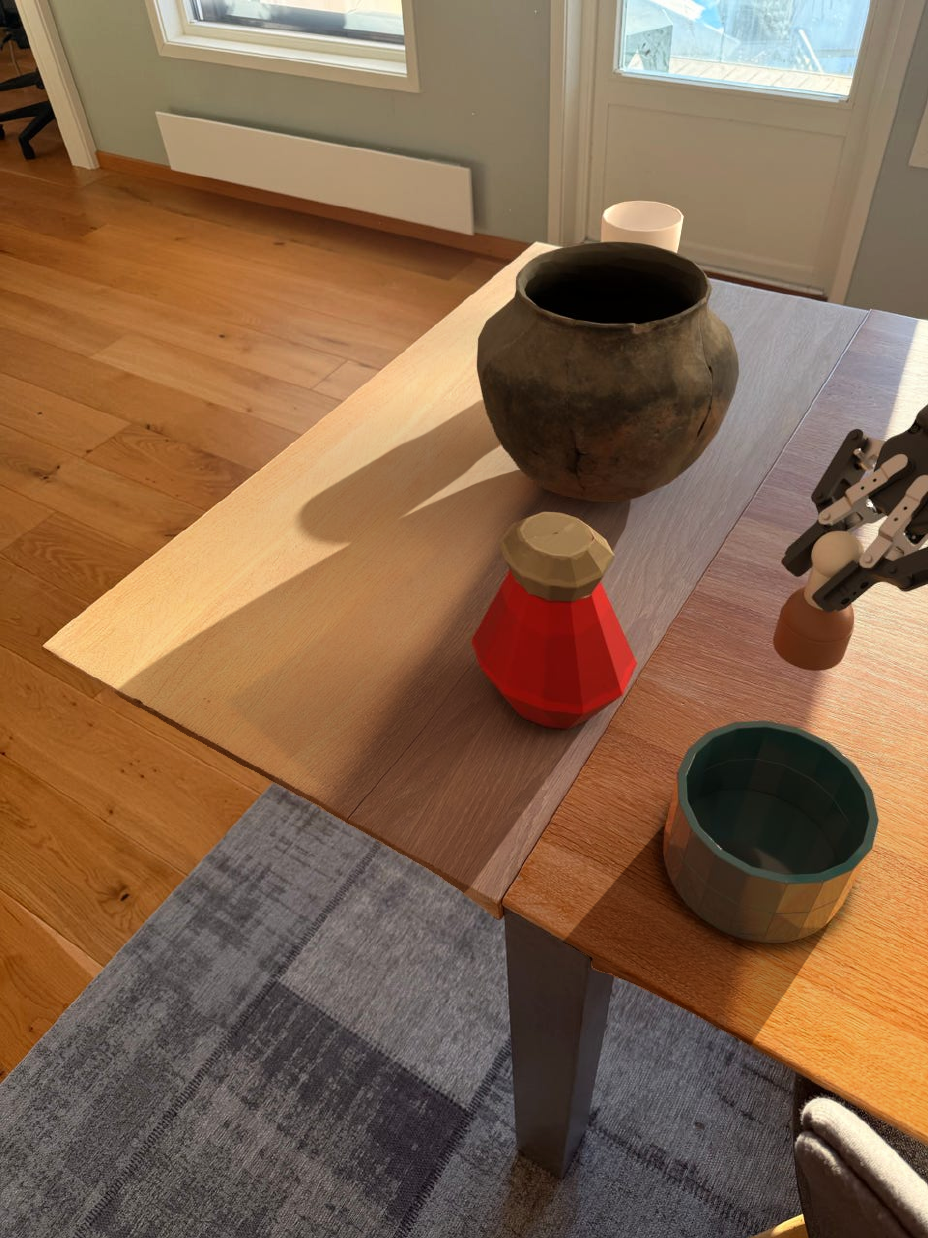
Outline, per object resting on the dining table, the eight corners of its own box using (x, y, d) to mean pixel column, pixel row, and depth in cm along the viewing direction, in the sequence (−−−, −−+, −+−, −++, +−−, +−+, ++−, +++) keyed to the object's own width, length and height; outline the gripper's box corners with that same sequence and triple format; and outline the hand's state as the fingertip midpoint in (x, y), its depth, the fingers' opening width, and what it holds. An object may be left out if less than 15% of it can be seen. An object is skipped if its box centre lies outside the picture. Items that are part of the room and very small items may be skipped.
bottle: (659, 695, 87) (688, 532, 73) (571, 782, 80) (585, 621, 66) (533, 619, 95) (538, 459, 81) (443, 692, 88) (431, 531, 74)
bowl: (861, 824, 76) (893, 759, 70) (823, 977, 67) (856, 918, 61) (694, 762, 81) (710, 696, 75) (637, 896, 72) (650, 834, 66)
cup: (633, 357, 133) (646, 238, 121) (578, 331, 140) (585, 215, 127) (683, 331, 138) (700, 214, 126) (627, 307, 145) (638, 194, 133)
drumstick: (850, 635, 70) (891, 525, 62) (836, 680, 66) (877, 569, 59) (782, 614, 71) (813, 505, 64) (764, 657, 68) (795, 547, 61)
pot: (513, 577, 99) (516, 372, 82) (459, 425, 122) (452, 238, 104) (763, 538, 103) (817, 333, 85) (666, 397, 125) (692, 212, 108)
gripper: (922, 323, 60) (726, 508, 66) (1085, 433, 50) (838, 637, 57) (962, 381, 65) (776, 548, 71) (1119, 491, 55) (887, 674, 61)
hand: (805, 586), depth 64 cm, fingers closed on drumstick, 3 cm apart
